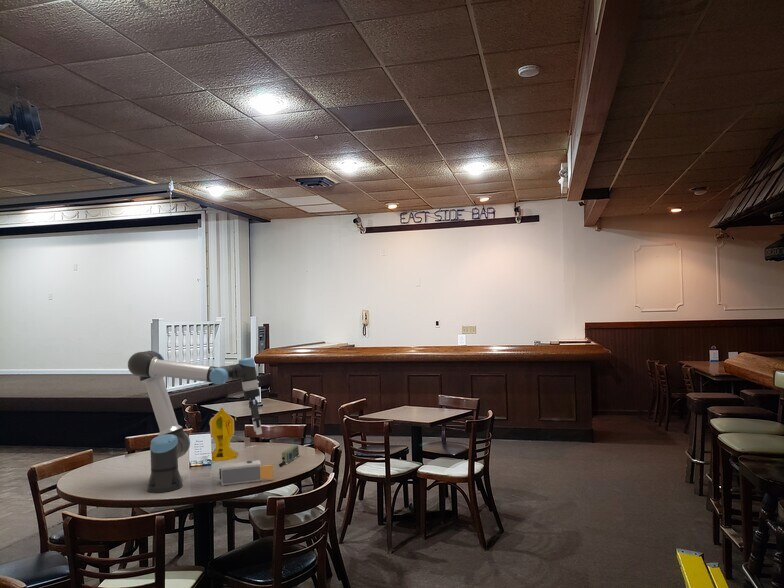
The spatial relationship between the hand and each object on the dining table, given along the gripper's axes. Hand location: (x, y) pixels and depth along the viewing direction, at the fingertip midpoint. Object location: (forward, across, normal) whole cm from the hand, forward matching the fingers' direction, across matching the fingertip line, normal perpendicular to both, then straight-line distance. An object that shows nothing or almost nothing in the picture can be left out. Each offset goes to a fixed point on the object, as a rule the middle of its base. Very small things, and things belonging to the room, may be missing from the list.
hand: (258, 432), depth 280 cm
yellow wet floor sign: (+17, +54, +19) cm, 60 cm away
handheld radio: (+23, +26, -15) cm, 38 cm away
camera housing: (+20, -4, +11) cm, 23 cm away
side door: (+20, -9, +8) cm, 23 cm away
